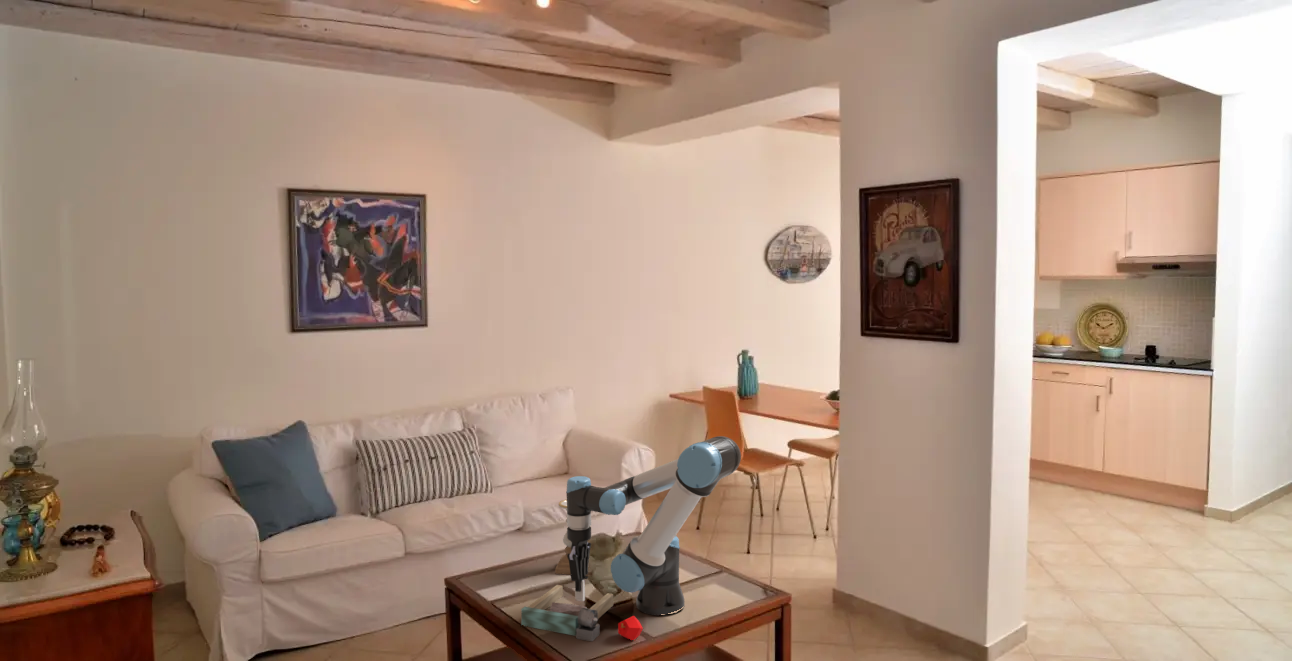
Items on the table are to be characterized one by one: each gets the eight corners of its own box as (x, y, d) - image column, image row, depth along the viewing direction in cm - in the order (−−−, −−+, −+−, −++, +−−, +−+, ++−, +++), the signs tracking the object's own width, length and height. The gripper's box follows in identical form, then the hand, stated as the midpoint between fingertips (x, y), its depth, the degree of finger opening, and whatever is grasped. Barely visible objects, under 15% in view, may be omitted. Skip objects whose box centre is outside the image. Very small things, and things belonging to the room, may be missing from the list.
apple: (635, 611, 244) (617, 609, 238) (650, 622, 239) (632, 621, 233) (626, 633, 243) (607, 632, 238) (641, 645, 239) (623, 644, 233)
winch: (601, 634, 240) (601, 607, 240) (593, 641, 236) (593, 614, 235) (582, 631, 243) (582, 604, 242) (574, 638, 238) (574, 611, 237)
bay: (613, 605, 261) (613, 589, 261) (578, 636, 239) (578, 619, 239) (557, 595, 269) (557, 580, 269) (518, 624, 247) (518, 608, 246)
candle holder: (561, 562, 298) (560, 497, 297) (591, 564, 297) (591, 498, 295) (554, 574, 288) (554, 506, 286) (585, 575, 286) (585, 507, 285)
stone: (585, 627, 246) (585, 611, 246) (545, 627, 246) (545, 611, 246) (588, 614, 255) (588, 599, 255) (550, 614, 255) (549, 599, 255)
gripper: (577, 519, 267) (578, 590, 269) (559, 531, 255) (560, 606, 256) (598, 521, 264) (599, 593, 266) (581, 534, 252) (582, 609, 254)
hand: (580, 599), depth 261 cm, fingers closed
